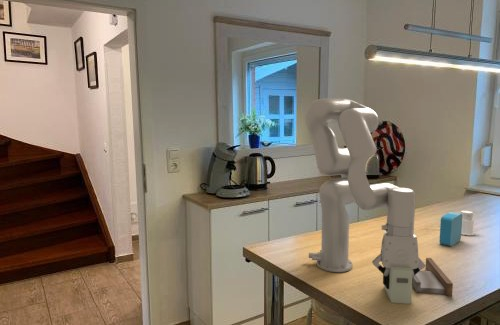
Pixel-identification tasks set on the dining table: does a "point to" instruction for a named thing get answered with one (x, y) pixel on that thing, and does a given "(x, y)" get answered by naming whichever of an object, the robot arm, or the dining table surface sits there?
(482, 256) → the dining table surface
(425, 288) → the board
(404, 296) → the slotted sage box
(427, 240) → the dining table surface
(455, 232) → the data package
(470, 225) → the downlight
